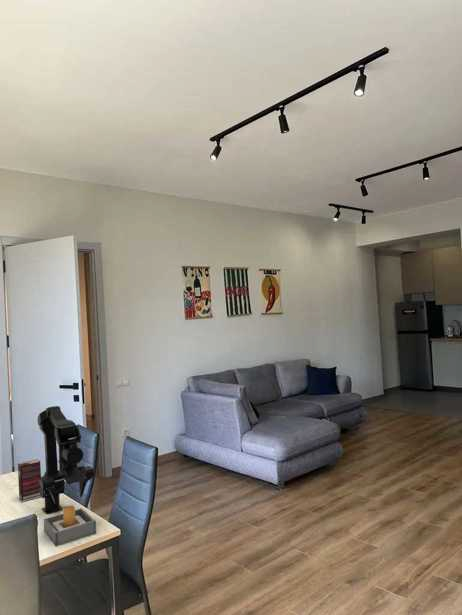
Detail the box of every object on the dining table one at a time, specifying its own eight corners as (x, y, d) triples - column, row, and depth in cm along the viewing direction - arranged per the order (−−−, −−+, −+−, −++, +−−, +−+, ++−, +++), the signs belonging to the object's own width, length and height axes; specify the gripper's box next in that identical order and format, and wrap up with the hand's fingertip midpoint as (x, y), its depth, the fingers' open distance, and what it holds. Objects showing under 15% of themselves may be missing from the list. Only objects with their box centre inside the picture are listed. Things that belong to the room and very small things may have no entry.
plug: (62, 530, 163) (61, 507, 163) (73, 526, 166) (72, 504, 166) (65, 533, 160) (64, 511, 160) (77, 530, 162) (76, 507, 163)
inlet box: (44, 531, 164) (43, 518, 165) (82, 519, 173) (81, 508, 173) (55, 546, 152) (55, 533, 153) (96, 533, 161) (95, 520, 161)
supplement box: (39, 494, 202) (37, 458, 203) (42, 497, 198) (40, 461, 199) (18, 499, 197) (17, 463, 197) (21, 502, 193) (19, 465, 194)
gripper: (46, 468, 153) (47, 515, 153) (99, 457, 164) (101, 499, 164) (38, 461, 162) (39, 504, 162) (89, 450, 173) (90, 491, 173)
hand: (68, 500), depth 165 cm, fingers open, 9 cm apart
